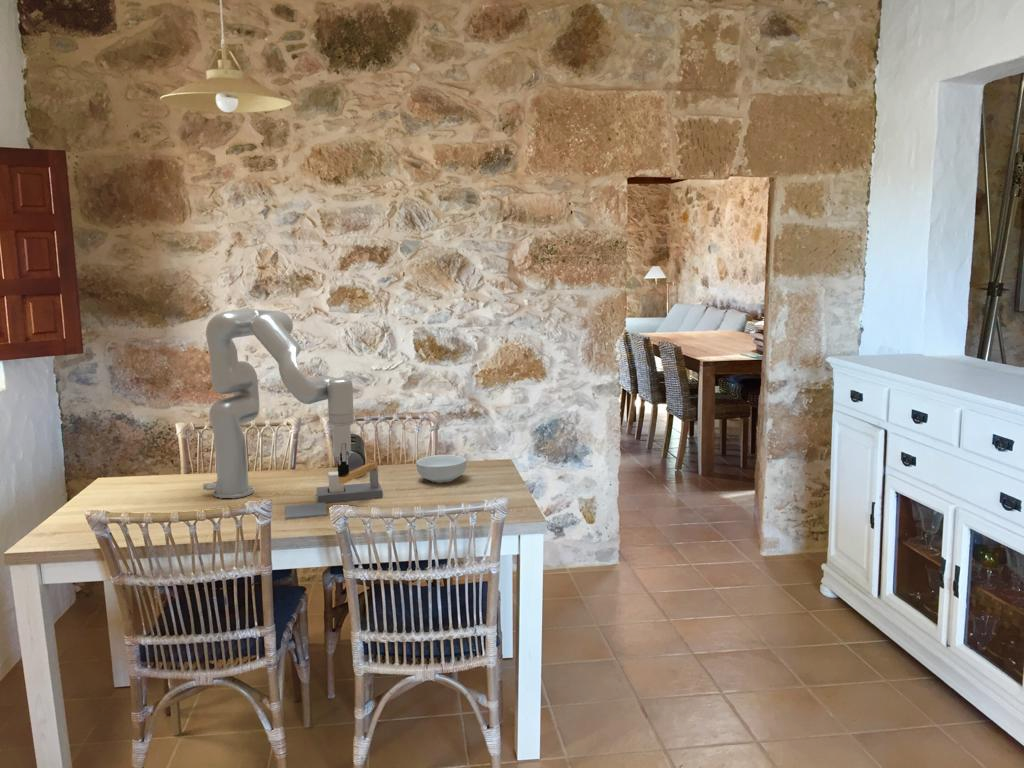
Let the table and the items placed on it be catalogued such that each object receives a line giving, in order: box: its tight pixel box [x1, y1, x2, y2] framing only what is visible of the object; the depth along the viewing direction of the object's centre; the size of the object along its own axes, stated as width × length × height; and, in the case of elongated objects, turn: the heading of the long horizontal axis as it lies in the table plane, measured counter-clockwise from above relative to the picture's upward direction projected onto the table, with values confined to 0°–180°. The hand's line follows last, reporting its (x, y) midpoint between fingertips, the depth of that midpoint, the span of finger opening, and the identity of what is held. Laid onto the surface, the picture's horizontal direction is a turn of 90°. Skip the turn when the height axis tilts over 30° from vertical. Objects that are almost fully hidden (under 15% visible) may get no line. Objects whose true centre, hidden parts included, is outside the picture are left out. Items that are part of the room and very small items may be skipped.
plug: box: [327, 470, 345, 493], centre depth 270 cm, size 4×4×8 cm
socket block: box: [316, 468, 384, 504], centre depth 271 cm, size 20×10×8 cm, turn 105°
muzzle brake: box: [337, 433, 366, 472], centre depth 305 cm, size 10×28×10 cm, turn 10°
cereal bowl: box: [415, 454, 467, 484], centre depth 289 cm, size 17×17×7 cm
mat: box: [284, 502, 328, 520], centre depth 257 cm, size 12×12×1 cm
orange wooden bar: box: [339, 460, 379, 485], centre depth 264 cm, size 20×3×2 cm, turn 159°
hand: (343, 476), depth 261 cm, fingers closed
